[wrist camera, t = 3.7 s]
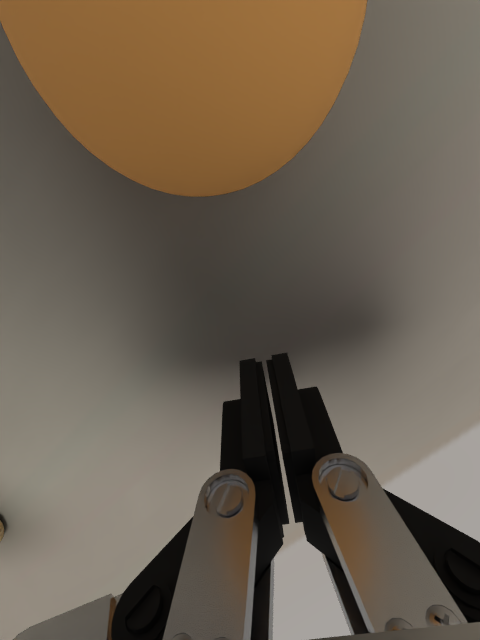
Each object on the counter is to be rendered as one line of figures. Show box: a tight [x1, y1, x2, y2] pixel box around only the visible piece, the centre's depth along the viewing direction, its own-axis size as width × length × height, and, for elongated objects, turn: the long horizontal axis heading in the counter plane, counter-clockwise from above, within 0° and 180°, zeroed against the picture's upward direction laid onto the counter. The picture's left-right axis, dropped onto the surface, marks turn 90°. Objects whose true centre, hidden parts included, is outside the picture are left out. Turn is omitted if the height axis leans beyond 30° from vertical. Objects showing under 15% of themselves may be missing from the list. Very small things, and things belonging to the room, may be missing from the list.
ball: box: [0, 0, 367, 197], centre depth 5 cm, size 6×6×6 cm
